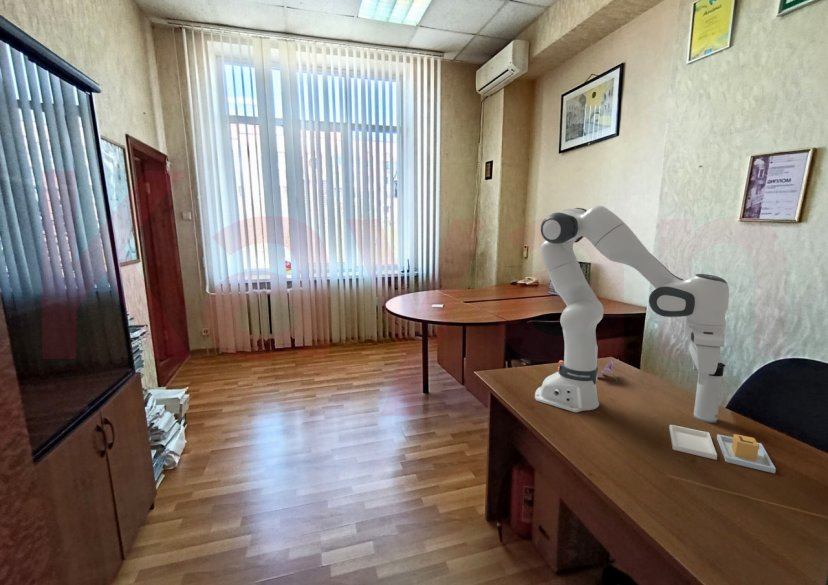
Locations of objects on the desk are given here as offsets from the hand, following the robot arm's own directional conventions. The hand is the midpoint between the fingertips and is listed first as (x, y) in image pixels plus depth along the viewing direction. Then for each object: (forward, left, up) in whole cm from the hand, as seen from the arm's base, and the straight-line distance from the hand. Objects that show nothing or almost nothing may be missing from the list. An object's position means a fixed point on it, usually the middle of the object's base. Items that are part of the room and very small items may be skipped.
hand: (699, 377), depth 106 cm
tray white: (0, 0, -21) cm, 21 cm away
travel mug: (+6, +19, -22) cm, 30 cm away
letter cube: (+12, 0, -21) cm, 24 cm away
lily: (-25, +42, -22) cm, 53 cm away
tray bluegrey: (+12, 0, -21) cm, 24 cm away
